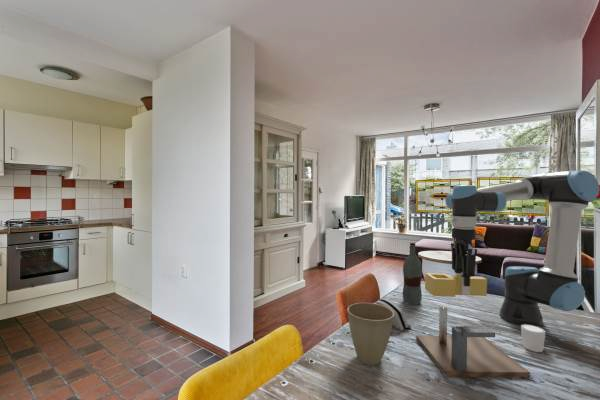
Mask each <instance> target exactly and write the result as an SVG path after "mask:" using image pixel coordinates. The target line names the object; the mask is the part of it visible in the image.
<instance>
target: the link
mask: <svg viewBox="0 0 600 400" xmlns="http://www.w3.org/2000/svg"><path fill="white" fill-rule="evenodd" d="M424 277H425V278H424V283H425V284H424V289H425V291H427V292H428V293H429V294H430V295H432V296H433V297H448V298H449V297H454V298H456V296H462V295H461V276H455V275H448V274H447V273H433V272H432V273H429V272H427V273H426V272H425V276H424ZM487 293H488V279H487V278H485V277H483V276H476V275H475V276H474V277H470V295H469V296H479V297H487Z"/></svg>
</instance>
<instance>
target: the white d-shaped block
mask: <svg viewBox="0 0 600 400" xmlns="http://www.w3.org/2000/svg"><path fill="white" fill-rule="evenodd" d="M375 304H378V305H382V306H385V307H387V308H389V309H391V310H392V311H393V313H394V318H393V324H392V326H395V327H396V328H397V329H398V328H399V330H400V331H403V330H404V329H405V328H406V329H407V328H409V329H412V325H411V324H410V323H408V321H407V319H406V316H405V314H404V310H402V308H400V307H399V306H398V305H397V304H396V303H395V302H393V301H391V300H390V299H387V298H381V299H379V300H377V301H376V302H375Z"/></svg>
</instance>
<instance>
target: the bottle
mask: <svg viewBox="0 0 600 400" xmlns="http://www.w3.org/2000/svg"><path fill="white" fill-rule="evenodd" d="M402 264H403V266H402V274H403V288H402V299H403V302H404V303H405V304H409V305H413V306H415V305H416V306H418V305H420V304H421V302H422V297H423V296H422V295H423V294H422V286H421V284H422V275H423V266H422V262H421V260H420V258H419V257H418V256H417V254H416V243H415V242H410V243H409V254H408V255H407V256H406V258H405V260H404V262H403V263H402Z"/></svg>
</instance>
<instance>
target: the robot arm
mask: <svg viewBox="0 0 600 400" xmlns="http://www.w3.org/2000/svg"><path fill="white" fill-rule="evenodd" d="M599 194H600V184H599V181H598V179H597V178H596V176H595V175H594V174H593V173H592V172H590V171H587V170H573V169H571V170H567V171H564V170H563V171H555V172H553V171H552V172H542V173H538V174H534V175H530V176H526V177H522V178H517V179H515V180H514V181H512V182H507V183H502V184H496V185H491V186H484V187H479V188H477V186H476V185H472V184H471V185H470V184H469V185H468V184H467V185H466V184H465V185H464V184H460V185H455V186H453V188H452V191H451V192H449V193H448V194H447V195H446V196H445V199H444V200H445V205H446V207H447V208H448V209H450V210H452V215H451V216H452V217H451V226H452V228H451V239H454V240H455V241H454V242H453V243H452V242H451V243H450V247H451V270H452V271H453V270H454V273H455V275H454V276H461V295H460V296H471V295H470V277H474V276H475V277H476V259H477V253H478V249H477V248H474V247H473V242H472V241H475V240H476V236H477V235H476V234H477V230H476V229H475V228H477V212H479V213H481V212H483V213H497V212H498V213H499V212H502V211H503V210H505V208H506V207H507V202H509V201H516V200H519V201H529V200H539V201H541V200H542V201H548V203H547V204H549V206H550V207H551V216H550V222H549V229H548V230H549V231H548V237H547V238H548V239H547V243H546V250H545V256H544V258H545V259H544V266H543V267H540V268H537V267H533V266H521V265H519V266H516V265H515V266H514V265H513V266H507V267H506V268H505V269H504V270H505V271H504V300H503V302H502V304H501V307H500V308H499V317H500V318H502V319H503V320H505V321H507V322H510V323H512V324H516V325H520V326H521V325H524V324H527V325H533V326H537V327H542V326H543V325H544V317H543V316H542V312H541V310H540V308H539V307H540V306H539V304H543V305H545V306H549V307H550V308H553V309H554V310H555V309H556V310H559V311H563V312H572V311H575V310H577V309H578V308H579V307H581V305H583V302H584V300H585V296H586V290H585V288H584V285H582V284H581V283H579V282H578V281H579V277H578V276H577V274H575V272H574V271H575V263H576V257H577V256H576V255H577V249H578V248H577V247H578V241H579V233H580V225H581V219H582V213H583V210H584V209H586V208H588V207H589V202H592V201H594V200H596V199H597V197H598V196H599Z"/></svg>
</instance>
